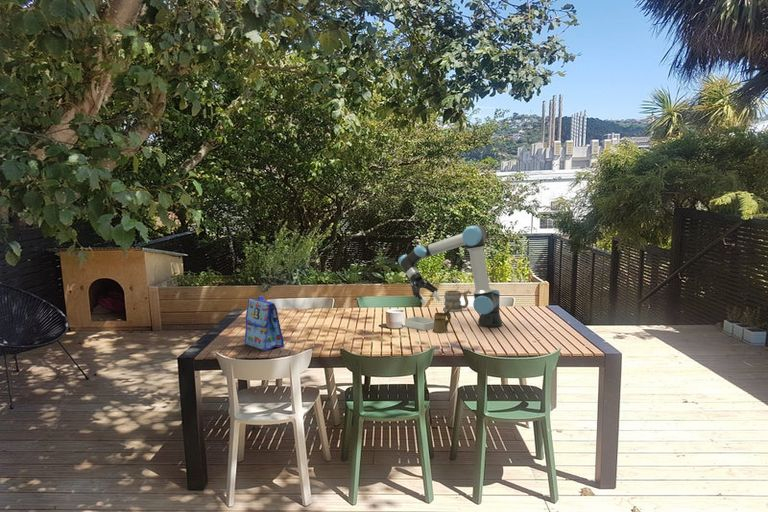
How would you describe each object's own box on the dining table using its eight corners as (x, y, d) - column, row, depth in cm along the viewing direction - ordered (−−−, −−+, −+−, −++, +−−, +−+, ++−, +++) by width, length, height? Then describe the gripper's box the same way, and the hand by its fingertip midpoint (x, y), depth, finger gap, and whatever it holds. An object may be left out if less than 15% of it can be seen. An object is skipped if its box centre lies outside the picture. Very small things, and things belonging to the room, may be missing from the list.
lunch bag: (244, 344, 309) (241, 295, 306) (264, 340, 318) (262, 292, 316) (264, 351, 294) (262, 299, 291) (285, 346, 303) (283, 296, 300)
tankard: (442, 311, 387) (442, 291, 386) (445, 308, 400) (445, 288, 398) (470, 313, 382) (470, 292, 380) (472, 309, 394) (472, 289, 392)
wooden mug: (455, 333, 325) (454, 303, 323) (432, 333, 326) (432, 303, 324) (454, 329, 334) (454, 301, 332) (432, 329, 335) (432, 301, 333)
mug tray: (439, 326, 342) (439, 320, 342) (424, 330, 332) (424, 324, 332) (417, 322, 357) (417, 316, 356) (401, 325, 347) (401, 319, 346)
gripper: (424, 277, 354) (442, 302, 345) (397, 281, 337) (415, 308, 328) (430, 270, 350) (448, 295, 341) (403, 274, 333) (421, 301, 324)
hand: (432, 301), depth 334 cm, fingers open, 13 cm apart
